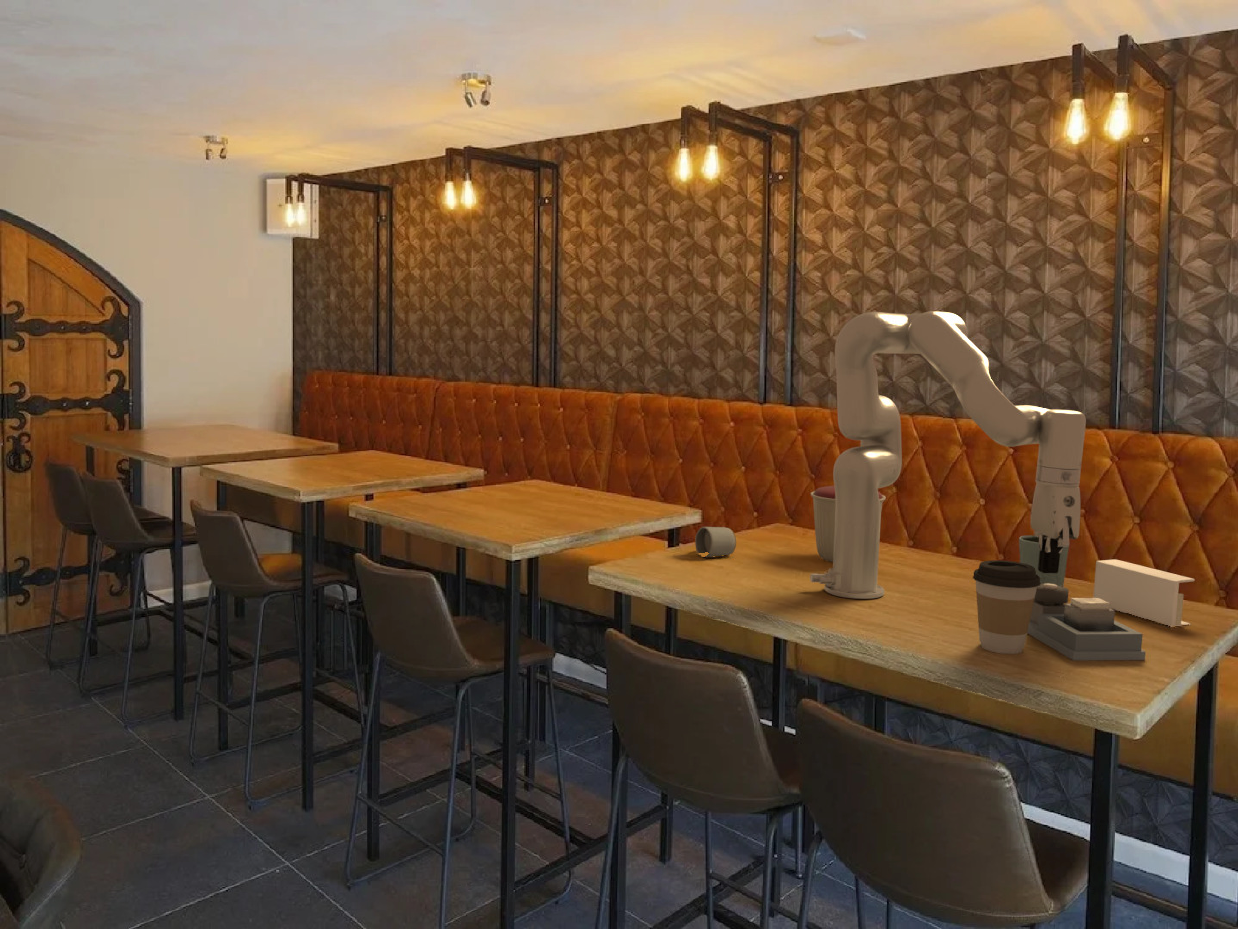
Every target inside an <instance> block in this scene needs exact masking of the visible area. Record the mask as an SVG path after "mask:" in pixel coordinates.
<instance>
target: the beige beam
mask: <svg viewBox="0 0 1238 929" xmlns="http://www.w3.org/2000/svg"><path fill="white" fill-rule="evenodd" d="M1189 582H1195V578H1192V577H1188V576H1185V575H1179V574H1175V573H1171V572H1168V571H1165V570H1164V571H1163V570H1160V569H1156V568H1155V569H1154V568H1152V567H1147V566H1144V565H1140V564H1135V563H1131V562H1129V561H1123V560H1119V559H1117V558H1115V559H1105V560H1104V559H1103V560H1096V561H1095V571H1094V584H1093V597H1092V598H1100V599H1102V600H1104V601H1106V602H1108V603H1110V607H1109V608H1110V609H1112V610H1114V611H1115V612H1116V611H1117V612H1119V611H1120V613H1123V614H1126V613H1129V614H1132V615H1131V616H1133V615H1135V616H1134V617H1136V616H1138V617H1137V618H1139V617H1141V618H1140V619H1142V618H1144V619H1143V620H1146V619H1149V620H1152V621H1156V622H1159V623H1162V624H1165V625H1168V626H1167V627H1169V626H1171V627H1173V626H1181V625H1188V624H1189V626H1191V623H1189V622H1186V621H1183V620H1182V616H1183V607H1184V606H1183V605H1184V594H1183V593H1179V588H1180V583H1189ZM1129 614H1128V615H1129ZM1149 620H1148V621H1149ZM1152 621H1151V622H1152ZM1156 622H1155V623H1156ZM1159 623H1158V624H1159ZM1162 624H1161V625H1162ZM1165 625H1164V626H1165ZM1181 627H1182V626H1181Z"/></svg>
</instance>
